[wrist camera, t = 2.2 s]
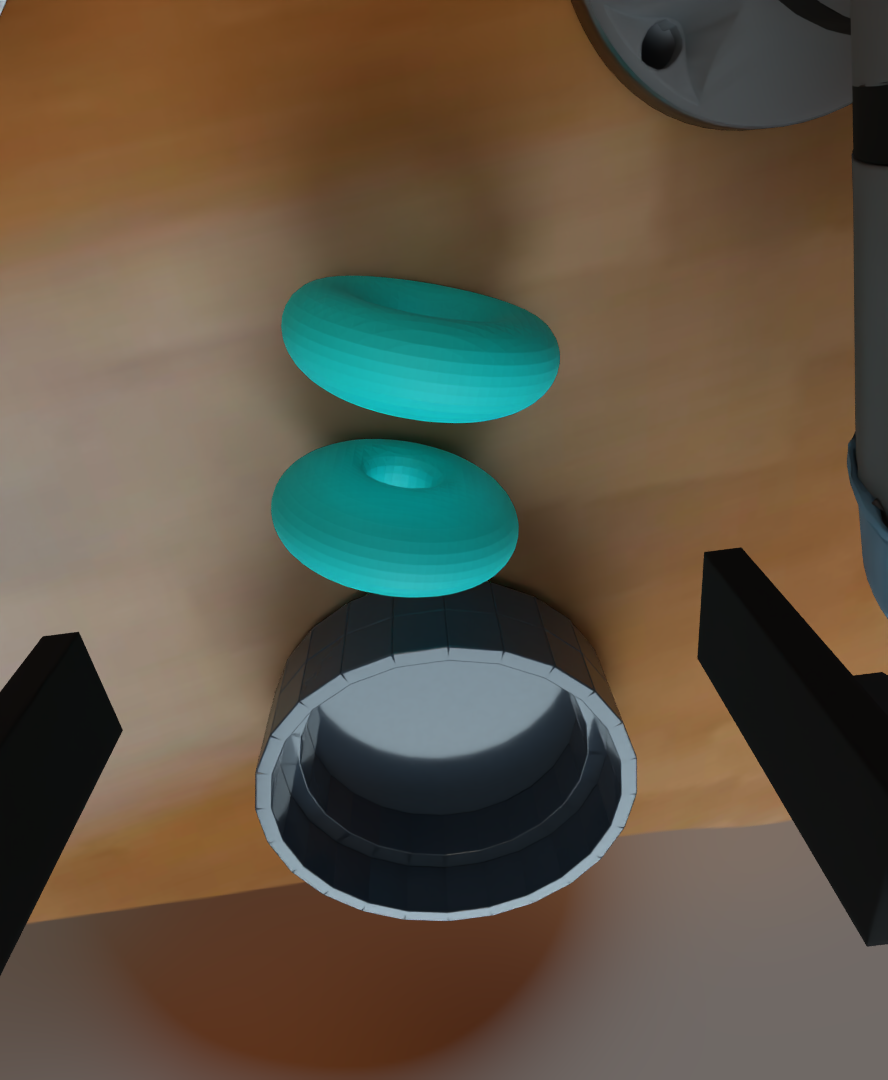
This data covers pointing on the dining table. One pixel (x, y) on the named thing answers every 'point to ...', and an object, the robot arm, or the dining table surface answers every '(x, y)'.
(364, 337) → the donuts
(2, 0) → the white tapered vase
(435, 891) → the bowl
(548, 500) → the dining table surface
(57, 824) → the robot arm
